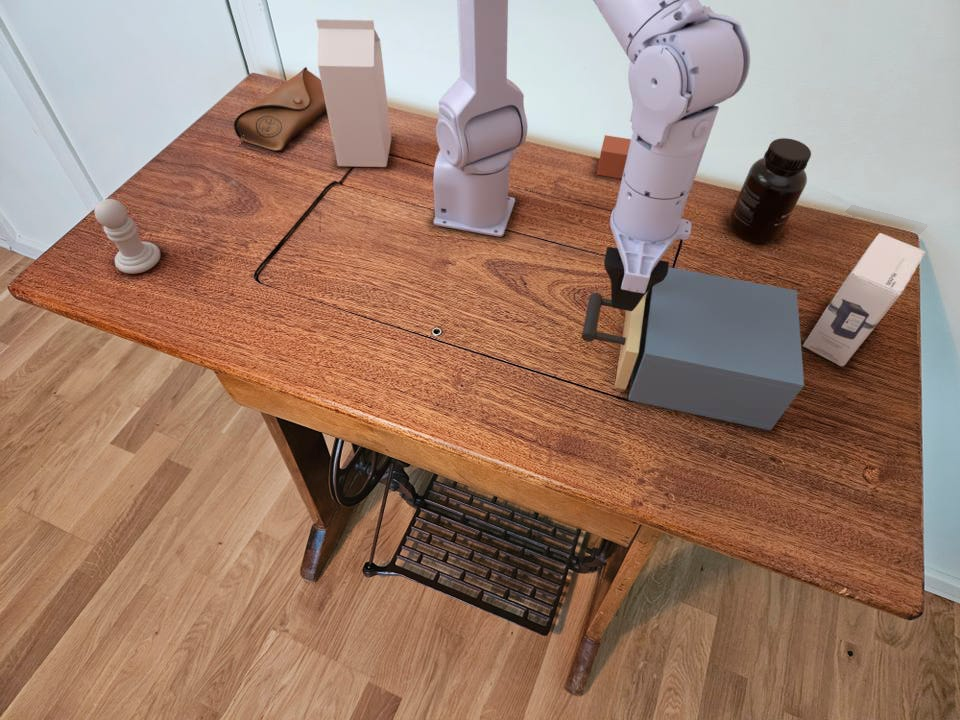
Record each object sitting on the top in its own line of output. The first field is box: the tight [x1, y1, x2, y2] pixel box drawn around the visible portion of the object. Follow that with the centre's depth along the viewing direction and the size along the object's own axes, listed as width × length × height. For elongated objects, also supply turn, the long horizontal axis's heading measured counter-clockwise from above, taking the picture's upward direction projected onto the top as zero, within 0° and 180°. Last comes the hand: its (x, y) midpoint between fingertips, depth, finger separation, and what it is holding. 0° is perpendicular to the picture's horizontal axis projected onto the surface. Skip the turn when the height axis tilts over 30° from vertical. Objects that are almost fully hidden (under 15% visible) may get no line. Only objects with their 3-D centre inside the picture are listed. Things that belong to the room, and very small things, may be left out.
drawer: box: [581, 292, 649, 391], centre depth 66 cm, size 18×11×6 cm, turn 76°
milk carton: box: [315, 18, 392, 168], centre depth 84 cm, size 7×7×19 cm
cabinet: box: [628, 266, 805, 431], centre depth 65 cm, size 15×13×8 cm
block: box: [596, 134, 631, 180], centre depth 89 cm, size 4×4×4 cm
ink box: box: [802, 232, 926, 367], centre depth 67 cm, size 8×5×12 cm, turn 140°
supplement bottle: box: [728, 137, 812, 244], centre depth 78 cm, size 7×7×12 cm
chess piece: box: [93, 198, 161, 275], centre depth 74 cm, size 5×5×9 cm
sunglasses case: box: [233, 66, 327, 152], centre depth 96 cm, size 18×7×7 cm
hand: (625, 291), depth 62 cm, fingers open, 4 cm apart
